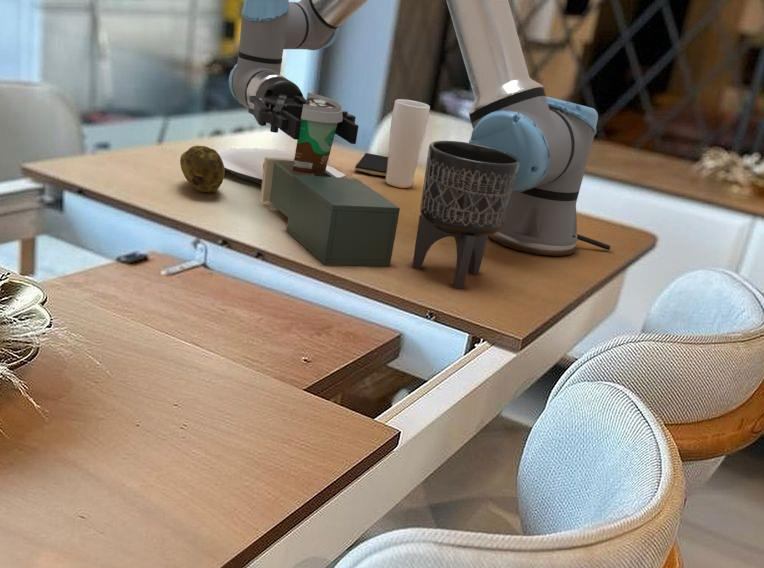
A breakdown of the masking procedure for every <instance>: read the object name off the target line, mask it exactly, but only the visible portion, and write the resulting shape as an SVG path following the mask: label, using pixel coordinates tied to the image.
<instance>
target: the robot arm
mask: <svg viewBox="0 0 764 568" xmlns="http://www.w3.org/2000/svg"><path fill="white" fill-rule="evenodd" d="M368 2H369V0H299V1H289V0H243V5H242V8H241V20H240V34H239V46H238V54H237V55H238V56H237V61H236V62H237V63H236V64H235V65H234V66H233V68H232V69H231V70H230V73H229V76H228V87H229V91H230V93H231V94H232V96H233V98H234V99H235V100H236V101H237V102H238V104H239V105H241V106H242V107H244V108H245V109H248V112H247V113H248V114H251V115H252V116H253V118H254V120H255V121H256V122H257V125H259V126H260V127H265V126H267V124H269V125H270V129H269V131H270V132H271V133H274V134H276V133H279V130H280V131H281V132H283V133H284V134H286V135H287V136H288V137H290V138H291V139H293V140H294V141H295V140H296V141H297V140H299V135H300V127H301V115H302V109H303V104H306V99H307V98H305V97H304V95H303V92H302V90H301V89H300V87H299V86H298V85H297V84H296V83H294V82H293V81H292V80H290V79H288V78H287V77H286V76H283V75H281V69H282V63H283V55H284V50H307V51H318V50H321V49H325V48H328V47H330V46H332V45H333V44H334V42H335V41H336V40H337V37H338V35H339V33H340V32H339V31H340V27H341V26H342V25H343V24H344V23H345V22H346V21H347V20H348V19H350V18H351V16H353V15H354V14H355V13H357V11H358V10H359V9H361V8H362V7H363V6H364V5H365V4H366V3H368ZM446 4H447V8H448V11H449V14H450V19H451V21H452V25H453V28H454V31H455V36H456V39H457V42H458V46H459V49H460V52H461V56H462V60H463V63H464V66H465V70H466V73H467V78H468V80H469V83H470V87H471V90H472V94H473V98H474V100H473V103H472V105H471V106H470V107H471V108H470V110H469V111H468V117H469V120H470V123H471V128H472V132H471V136H470V138H469V140H468V143H473V144H478V145H483V146H487V147H491V148H495V149H499V150H502V151H505V152H508V153H510V154H512V155H514V156H516V157H517V158H519V160H520V166H519V170H518V174H517V177H516V181H515V184H514V188H513V192H512V195H511V199H510V203H509V206H508V210H507V213H506V217H505V221H504V224H503V226H502V228H501V229H500V231H498V232H497V233H494V234H490V235H488V238H490V239H491V240H493V242H496V243H498V244H500V245H502V246H504V247H507V248H510V249H514V250H517V251H520V252H525V253H529V254H535V255H540V256H541V255H542V256H550V257H562V256H569V255H572V254H574V253H575V251H576V248H577V245H578V241H581V242H584V243H587V244H589V245H593V246H595V247H598V248H601V249H604V250H607V251H610V250H611V244H607V243H605V242H602V241H598V240H596V239H594V238H591V237H587V236H585V235H582V234H578V219H577V201H578V198H579V194H580V190H581V187H582V183H583V179H584V176H585V171H586V168H587V164H588V161H589V156H590V153H591V148H592V146H593V141H594V138H595V136H596V134H597V124H598V120H599V115H598V112H597V110H596V109H595V108H593V107H589V106H586V105H583V104H578V103H574V102H571V101H566V100H563V99H560V98H559V99H558V98H554V97H549V96H547V95H546V91H545V89H544V86H543V84H541V83H540V82H537V81H536V80H533V79H532V78H531V77H530V74H529V70H528V67H527V63H526V59H525V57H524V53H523V50H522V45H521V42H520V37H519V34H518V31H517V28H516V24H515V20H514V17H513V13H512V10H511V6H510V1H509V0H446ZM342 115H343V121H342V122H339V123H338V124H337V127H336V131H335V135H337V136H338V137H339V138H341V139H343V140H344V141H346V142H348V143H349V144H351V145H356V144H357V139H358V133H359V132H358V131H359V125H358V124H356V116H355V115H353V114H350V113H349V112H348V111H347V110H346V111H345V110H344V111H343V110H342Z"/></svg>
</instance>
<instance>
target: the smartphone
mask: <svg viewBox="0 0 764 568" xmlns="http://www.w3.org/2000/svg"><path fill="white" fill-rule="evenodd" d="M387 164H388V156H385V155H381V154H376V153H375V154H374V153H370V152H369V153H368V152H365V153H364V155H363V156H362V157H361V159H360V160H359V161H358V162H357V164H356V165H355V166H354V170H356V171H359V172H362V173H365V174H369V175H373V176H383V177H386V173H387Z"/></svg>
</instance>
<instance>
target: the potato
mask: <svg viewBox="0 0 764 568" xmlns="http://www.w3.org/2000/svg"><path fill="white" fill-rule="evenodd" d="M216 151H217V150H216V149H213V148H210V147H209V146H205V145H193V146H191V147H190V148H188V149H187V150H186V151H184V152H183V153H182V154H181V155H180V157H179V158H180V159H179V163H180V164H179V165H180V170H181V172H182V174H183V176H184V179H185V180H186V181H187V182H188V183H189V184H190V185H191V186H192V187H193V188H194V189H195V190H197V191H199V192H201V193H202V192H203V193H214V192H216V191H218V190H219V188H220V187H221V185H222V183H223V181H224V179H225V174H226V173H225V172H226V170H225V169H224V164H223V162H222V159H221V157H220V155H219V154H218V153H217V152H216Z"/></svg>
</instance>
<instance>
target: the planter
mask: <svg viewBox="0 0 764 568" xmlns="http://www.w3.org/2000/svg"><path fill="white" fill-rule="evenodd" d="M427 150H428V151H427V156H426V157H427V158H426V164H425V172H424V179H423V187H422V192H421V193H422V194H421V199H420V200H421V201H420V207H419V213H420V214H419V217H418V223H417V233H416V239H415V245H414V253H413V259H412V268H414V269H418V270H420V269H421V268H422V267H423V264H424V261H425V258H426V256H427V254H428V252H429V251H430V249H431V247H432V246H433V245H434V244H435V243H436V242H438V241H440V240H442V239H445V238H454V241H455V245H456V261H455V271H454V278H453V284H452V286H453V287H454V289H460V290H464V289H465V285H466V282H467V281H466V280H467V276H468V273H470V274H472V275H478V274H479V273H480V270H481V265H482V263H483V258H484V254H485V250H486V246H487V242H488V238H489V236H488V235H490V234H494V233H497V232H498V231H500V229H501V228H502V226H503V224H504V221H505V217H506V213H507V210H508V206H509V203H510V199H511V195H512V192H513V188H514V184H515V181H516V177H517V174H518V170H519V166H520V160H519V158H517V157H516V156H514V155H512V154H510V153H508V152H505V151H502V150H499V149H495V148H491V147H487V146H483V145H478V144H473V143H469V142H465V141H459V140H457V141H456V140H436V141H432V142H430V143H429V145H428V149H427Z"/></svg>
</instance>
